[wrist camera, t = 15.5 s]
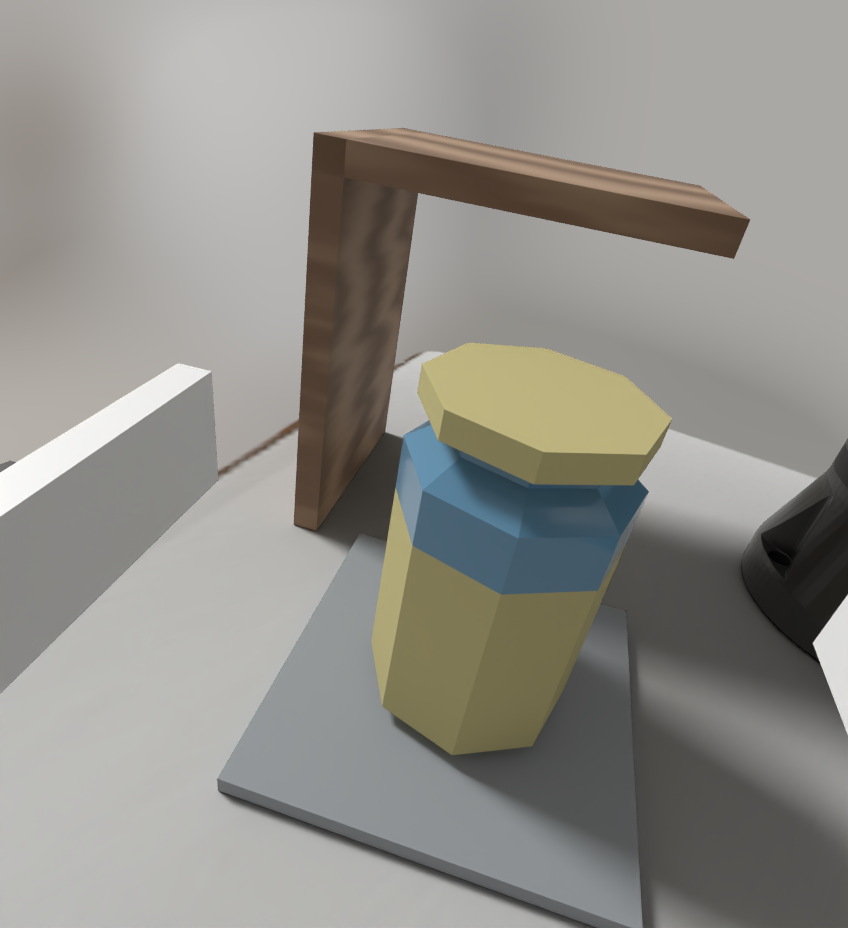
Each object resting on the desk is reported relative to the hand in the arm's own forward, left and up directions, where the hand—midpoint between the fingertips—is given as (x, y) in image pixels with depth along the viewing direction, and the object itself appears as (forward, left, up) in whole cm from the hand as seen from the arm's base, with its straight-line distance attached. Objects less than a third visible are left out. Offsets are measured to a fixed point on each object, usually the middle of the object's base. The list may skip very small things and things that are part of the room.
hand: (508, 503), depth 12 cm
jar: (-7, -6, -17) cm, 19 cm away
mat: (-7, -6, -17) cm, 20 cm away
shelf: (-17, -18, -17) cm, 30 cm away
